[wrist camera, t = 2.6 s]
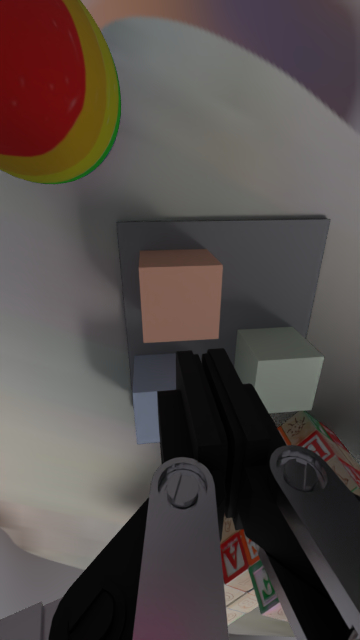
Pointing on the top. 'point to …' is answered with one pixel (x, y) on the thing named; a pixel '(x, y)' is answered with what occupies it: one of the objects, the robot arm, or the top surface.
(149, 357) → the slate-blue cube
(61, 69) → the decorative egg
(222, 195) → the top surface
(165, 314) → the terracotta cube
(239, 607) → the stack of blocks
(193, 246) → the charcoal mat
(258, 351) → the sage cube
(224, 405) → the robot arm
